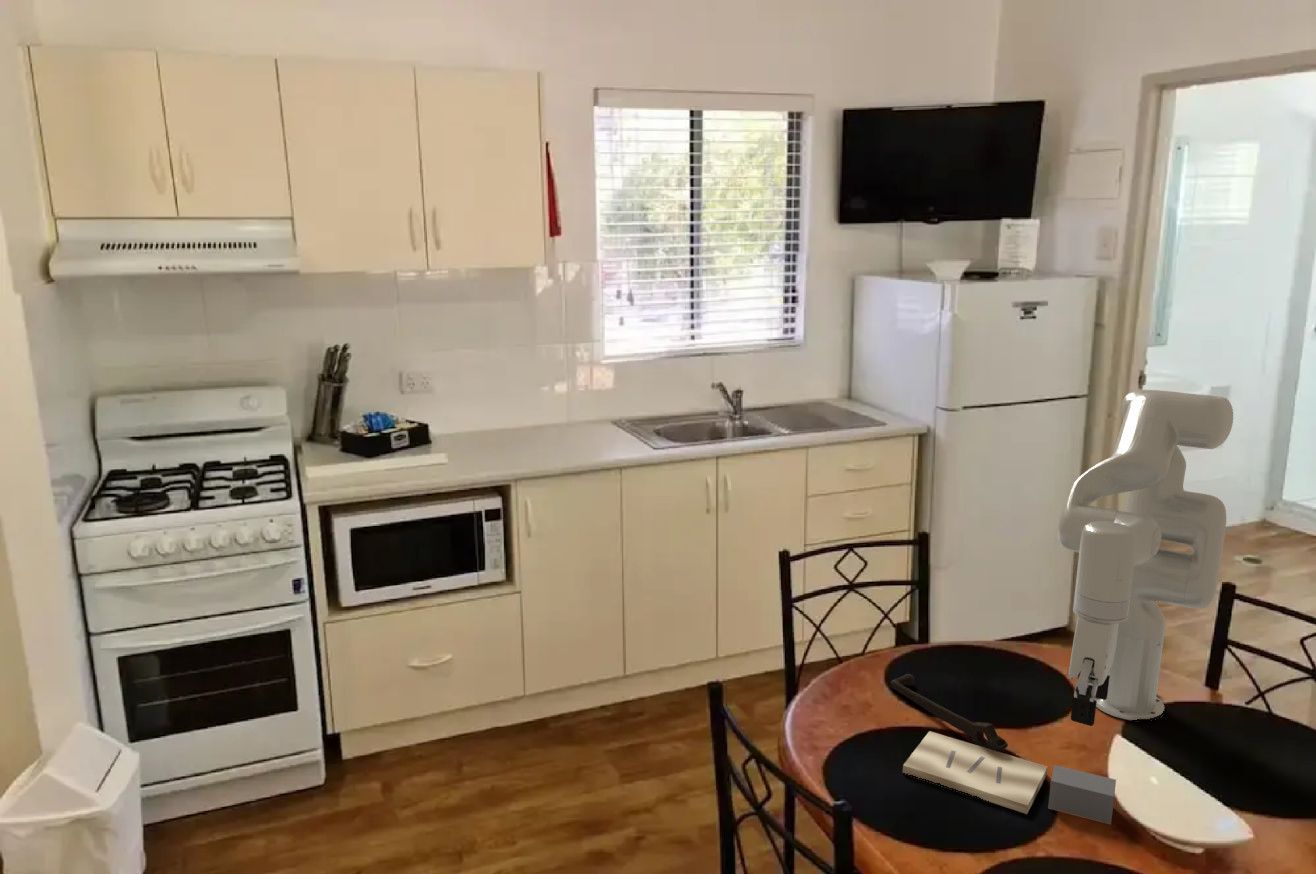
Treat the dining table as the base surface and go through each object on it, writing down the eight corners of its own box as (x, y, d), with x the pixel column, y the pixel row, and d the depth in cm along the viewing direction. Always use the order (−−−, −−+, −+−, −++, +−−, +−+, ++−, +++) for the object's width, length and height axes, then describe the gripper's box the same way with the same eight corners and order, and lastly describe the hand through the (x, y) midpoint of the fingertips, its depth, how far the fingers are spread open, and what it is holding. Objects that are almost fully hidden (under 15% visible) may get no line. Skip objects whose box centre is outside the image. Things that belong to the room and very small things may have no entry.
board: (928, 738, 172) (929, 731, 172) (1046, 774, 161) (1047, 766, 161) (902, 773, 162) (903, 765, 161) (1027, 814, 151) (1027, 805, 151)
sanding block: (1051, 792, 157) (1054, 764, 156) (1112, 808, 153) (1116, 779, 152) (1047, 809, 153) (1050, 781, 151) (1110, 825, 149) (1114, 796, 147)
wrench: (910, 690, 193) (1021, 755, 166) (889, 696, 191) (998, 763, 164) (909, 665, 192) (1021, 727, 165) (887, 671, 190) (997, 735, 163)
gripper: (1086, 582, 154) (1075, 681, 158) (1061, 618, 140) (1049, 726, 144) (1138, 592, 150) (1125, 694, 154) (1117, 630, 136) (1104, 741, 140)
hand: (1089, 709), depth 149 cm, fingers open, 9 cm apart
